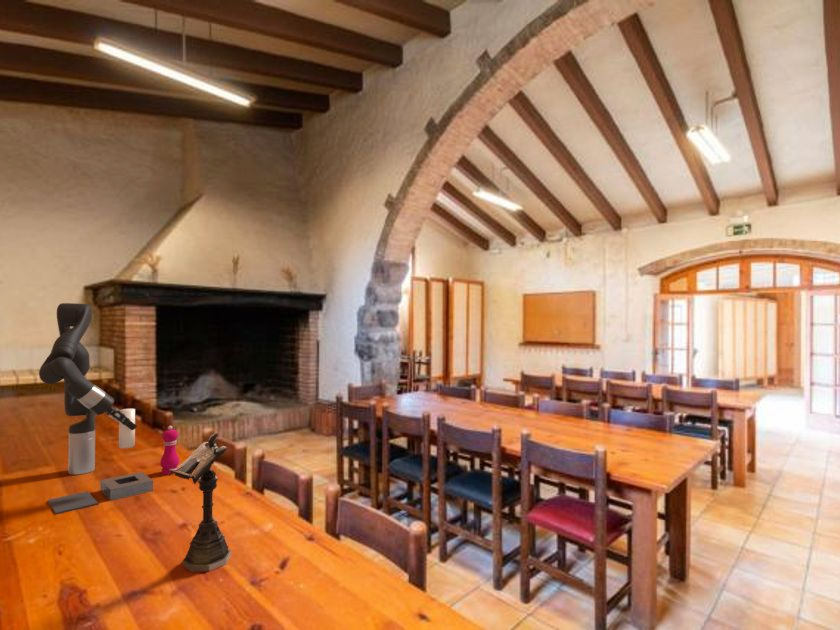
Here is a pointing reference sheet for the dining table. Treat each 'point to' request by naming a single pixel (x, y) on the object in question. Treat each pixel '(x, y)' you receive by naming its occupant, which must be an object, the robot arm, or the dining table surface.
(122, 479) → the block
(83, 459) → the robot arm
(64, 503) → the mat
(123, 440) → the plug
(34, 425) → the dining table surface
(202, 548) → the ornate lectern
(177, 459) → the pepper mill
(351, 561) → the dining table surface
